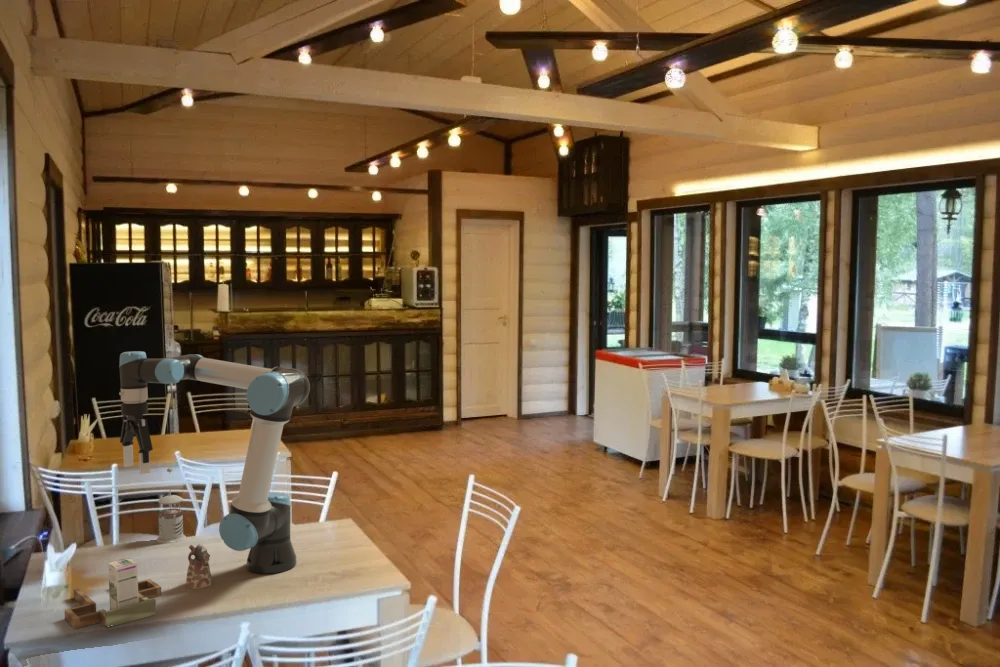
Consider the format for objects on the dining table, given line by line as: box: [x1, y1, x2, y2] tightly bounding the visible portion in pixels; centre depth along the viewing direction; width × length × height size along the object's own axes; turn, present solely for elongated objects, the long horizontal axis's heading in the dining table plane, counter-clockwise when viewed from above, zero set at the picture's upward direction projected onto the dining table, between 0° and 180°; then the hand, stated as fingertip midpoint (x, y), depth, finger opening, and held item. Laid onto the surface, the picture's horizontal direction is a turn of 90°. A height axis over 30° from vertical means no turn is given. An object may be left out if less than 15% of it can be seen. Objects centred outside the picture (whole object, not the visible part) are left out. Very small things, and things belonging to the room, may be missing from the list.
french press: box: [155, 467, 187, 544], centre depth 278 cm, size 10×12×25 cm
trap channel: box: [64, 578, 162, 630], centre depth 220 cm, size 27×25×4 cm
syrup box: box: [107, 557, 139, 610], centre depth 214 cm, size 6×6×14 cm
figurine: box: [185, 544, 213, 590], centre depth 236 cm, size 7×7×12 cm
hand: (136, 469), depth 247 cm, fingers open, 13 cm apart
